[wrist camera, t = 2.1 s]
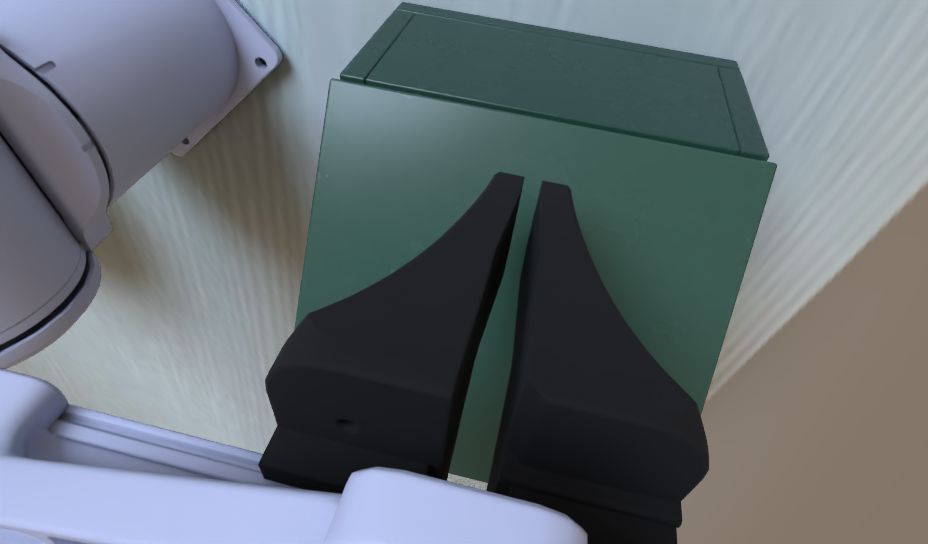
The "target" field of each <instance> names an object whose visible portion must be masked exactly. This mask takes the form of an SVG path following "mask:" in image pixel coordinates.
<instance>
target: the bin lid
mask: <svg viewBox="0 0 928 544" xmlns="http://www.w3.org/2000/svg"><path fill="white" fill-rule="evenodd" d="M776 168H777V165H776V164H775V163H771V162H766V161H761V160H756V159H750V158H745V157H740V156H735V155H730V154H724V153H719V152H714V151H709V150H704V149H698V148H693V147H688V146H683V145H678V144H672V143H667V142H662V141H657V140H651V139H646V138H641V137H636V136H631V135H625V134H620V133H615V132H610V131H605V130H599V129H594V128H589V127H584V126H579V125H573V124H568V123H563V122H558V121H552V120H547V119H542V118H537V117H532V116H526V115H521V114H516V113H511V112H506V111H500V110H495V109H490V108H485V107H480V106H474V105H469V104H464V103H459V102H454V101H448V100H443V99H438V98H433V97H427V96H422V95H417V94H412V93H407V92H401V91H396V90H391V89H386V88H381V87H375V86H370V85H365V84H360V83H355V82H349V81H344V80H339V79H334V78H333V79H331V80H330V84H329V91H328V98H327V105H326V112H325V119H324V126H323V133H322V140H321V147H320V154H319V161H318V168H317V175H316V182H315V189H314V196H313V203H312V210H311V217H310V224H309V231H308V238H307V245H306V253H305V260H304V267H303V274H302V281H301V288H300V295H299V302H298V309H297V316H296V323H295V329H296V328H297V326H298V325H299V324H300V323H301V321H302V320H303V319H304V318H305V317H306V315H307V314H308V313H310V312H313V311H316V310H318V309H321V308H323V307H326V306H328V305H331V304H333V303H335V302H338V301H340V300H343V299H345V298H347V297H349V296H351V295H353V294H355V293H357V292H359V291H361V290H363V289H365V288H367V287H368V286H370V285H372V284H374V283H376V282H378V281H380V280H382V279H383V278H385V277H387V276H388V275H390V274H391V273H393V272H395V271H396V270H398V269H399V268H401V267H402V266H403V265H405V264H406V263H408V262H409V261H411V260H412V259H414V258H415V257H416V256H418V255H419V254H420V253H422V252H423V251H424V250H426V249H427V248H428V247H429V246H430V245H432V244H433V243H434V242H435V241H436V240H438V239H439V238H440V237H441V236H442V235H443V234H444V233H445V232H446V231H447V230H448V229H449V228H450V227H451V226H453V225H454V224H455V223H456V222H457V221H458V220H459V219H460V218H461V217H462V216H463V214H464V213H465V212H466V211H467V210H468V209H469V208H470V207H471V206H472V204H473V203H474V202H475V201H476V200H477V199H478V197H479V196H480V195H481V194H482V192H483V191H484V190H485V188H486V187H487V186H488V184H489V183H490V181H491V180H492V178H493V176H494V175H495V174H497V173H498V172H504V173H509V174H514V175H518V176H523V177H525V178H524V183H523V188H522V192H521V197H520V202H519V207H518V212H517V216H516V221H515V226H514V231H513V236H512V240H511V245H510V249H509V254H508V258H507V263H506V267H505V271H504V276H503V278H502V281H501V284H500V287H499V290H498V293H497V296H496V299H495V302H494V305H493V308H492V310H491V313H490V316H489V319H488V322H487V325H486V328H485V331H484V334H483V336H482V339H481V342H480V345H479V348H478V352H477V355H476V359H475V362H474V366H473V371H472V375H471V379H470V383H469V388H468V392H467V396H466V400H465V405H464V409H463V413H462V417H461V422H460V426H459V430H458V434H457V439H456V443H455V447H454V452H453V456H452V460H451V465H450V469H449V473H450V474H454V475H458V476H462V477H466V478H470V479H474V480H478V481H482V482H486V483H488V481H489V476H490V471H491V466H492V461H493V456H494V451H495V446H496V441H497V436H498V431H499V426H500V421H501V416H502V411H503V406H504V401H505V396H506V391H507V386H508V381H509V376H510V370H511V364H512V356H513V347H514V336H515V326H516V315H517V304H518V293H519V283H520V276H521V271H522V266H523V261H524V257H525V252H526V247H527V242H528V238H529V234H530V230H531V226H532V221H533V217H534V213H535V209H536V205H537V201H538V196H539V192H540V188H541V184H542V180H543V181H548V182H553V183H558V184H563V185H568V186H569V188H570V189H571V192H572V199H573V204H574V208H575V212H576V216H577V219H578V223H579V226H580V229H581V232H582V235H583V238H584V240H585V243H586V246H587V249H588V251H589V254H590V256H591V258H592V261H593V263H594V265H595V267H596V270H597V272H598V274H599V276H600V278H601V280H602V282H603V284H604V286H605V288H606V290H607V291H608V293H609V295H610V297H611V298H612V300H613V302H614V304H615V305H616V307H617V308H618V310H619V312H620V313H621V315H622V316H623V318H624V319H625V321H626V322H627V324H628V325H629V327H630V328H631V329H632V331H633V332H634V333H635V335H636V336H637V337H638V339H639V340H640V341H641V343H642V344H643V345H644V347H645V348H646V349H647V351H648V352H649V353H650V354H651V355H652V356H653V358H654V359H655V360H656V361H657V362H658V363H659V365H660V366H661V367H662V368H663V369H664V370H665V371H666V372H667V373H668V374H669V375H670V376H671V377H672V378H673V379H674V380H675V381H676V382H677V383H678V384H679V385H680V386H681V387H682V388H683V389H684V390H685V391H686V392H687V393H688V394H689V395H690V396H691V397H692V398H693V399H694V400H695V401H696V403H697V405H698V409H699V412H700V416H701V413H702V410H703V406H704V403H705V400H706V397H707V393H708V390H709V387H710V384H711V380H712V377H713V374H714V370H715V367H716V364H717V361H718V357H719V354H720V351H721V348H722V344H723V341H724V338H725V335H726V331H727V328H728V325H729V321H730V318H731V315H732V312H733V308H734V305H735V302H736V299H737V295H738V292H739V289H740V285H741V282H742V279H743V276H744V272H745V269H746V266H747V263H748V259H749V256H750V253H751V250H752V246H753V243H754V240H755V236H756V233H757V230H758V227H759V223H760V220H761V217H762V214H763V210H764V207H765V204H766V200H767V197H768V194H769V191H770V187H771V184H772V181H773V178H774V174H775V171H776Z"/></svg>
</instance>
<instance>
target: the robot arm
mask: <svg viewBox="0 0 928 544" xmlns="http://www.w3.org/2000/svg"><path fill="white" fill-rule="evenodd" d="M260 58H262V59H264V60H265V62H266V64H267V66H266V65H264V64H262V63H261V61H260ZM281 61H282V54H281V51H280V50H279V48H278V47H277V46H276V45H275V44H274V42H273V41H272V40H271V39H270V38H269V37H268V36H267V35H266V34H265V33H264V32H263V30H262V29H261V28H260V27H259V26H258V25H257V24H256V23H255V22H254V21H253V20H252V19H251V17H250V16H249V15H248V14H247V13H246V12H245V11H244V10H243V9H242V8H241V7H240V5H239V4H238V3H237V2H236V1H235V0H0V544H677V533H676V527H677V528H678V527H680V526H681V523H682V511H681V501H682V500H683V499H684V497H686V496H687V494H689V493H690V491H692V490H693V489H694V488H695V487H696V486H697V484H699V482H700V481H701V480H702V479H703V478H704V476H705V475H706V473H707V472H708V470H709V454H708V445H707V439H706V435H705V431H704V427H703V423H702V420H701V416H700V412H699V409H698V405H697V403H696V401H695V400H694V399H693V398H692V397H691V396H690V395H689V394H688V393H687V392H686V391H685V390H684V389H683V388H682V387H681V386H680V385H679V384H678V383H677V382H676V381H675V380H674V379H673V378H672V377H671V376H670V375H669V374H668V373H667V372H666V371H665V370H664V369H663V368H662V367H661V366H660V365H659V363H658V362H657V361H656V360H655V359H654V358H653V356H652V355H651V354H650V353H649V352H648V351H647V349H646V348H645V347H644V345H643V344H642V343H641V341H640V340H639V339H638V337H637V336H636V335H635V333H634V332H633V331H632V329H631V328H630V327H629V325H628V324H627V322H626V321H625V319H624V318H623V316H622V315H621V313H620V312H619V310H618V308H617V307H616V305H615V304H614V302H613V300H612V298H611V297H610V295H609V293H608V291H607V290H606V288H605V286H604V284H603V282H602V280H601V278H600V276H599V274H598V272H597V270H596V267H595V265H594V263H593V261H592V258H591V256H590V254H589V251H588V249H587V246H586V243H585V240H584V238H583V235H582V232H581V229H580V226H579V223H578V219H577V216H576V212H575V208H574V204H573V199H572V192H571V189H570V188H569V186H568V185H563V184H558V183H553V182H548V181H543V180H542V184H541V188H540V192H539V196H538V201H537V205H536V209H535V213H534V217H533V221H532V226H531V230H530V234H529V238H528V242H527V247H526V252H525V257H524V261H523V266H522V271H521V276H520V283H519V293H518V304H517V315H516V326H515V336H514V347H513V356H512V364H511V370H510V376H509V381H508V386H507V391H506V396H505V401H504V406H503V411H502V416H501V421H500V426H499V431H498V436H497V441H496V446H495V451H494V456H493V461H492V466H491V471H490V476H489V481H488V486H487V491H485V490H481V489H477V488H473V487H469V486H465V485H461V484H457V483H453V482H449V481H447V478H448V473H449V469H450V465H451V460H452V456H453V452H454V447H455V443H456V439H457V434H458V430H459V426H460V422H461V417H462V413H463V409H464V405H465V400H466V396H467V392H468V388H469V383H470V379H471V375H472V371H473V366H474V362H475V359H476V355H477V352H478V348H479V345H480V342H481V339H482V336H483V334H484V331H485V328H486V325H487V322H488V319H489V316H490V313H491V310H492V308H493V305H494V302H495V299H496V296H497V293H498V290H499V287H500V284H501V281H502V278H503V276H504V271H505V267H506V263H507V258H508V254H509V249H510V245H511V240H512V236H513V231H514V226H515V221H516V216H517V212H518V207H519V202H520V197H521V192H522V188H523V183H524V178H525V177H523V176H518V175H514V174H509V173H504V172H498V173H497V174H495V175H494V176H493V178H492V180H491V181H490V183H489V184H488V186H487V187H486V188H485V190H484V191H483V192H482V194H481V195H480V196H479V197H478V199H477V200H476V201H475V202H474V203H473V204H472V206H471V207H470V208H469V209H468V210H467V211H466V212H465V213H464V214H463V216H462V217H461V218H460V219H459V220H458V221H457V222H456V223H455V224H454V225H453V226H451V227H450V228H449V229H448V230H447V231H446V232H445V233H444V234H443V235H442V236H441V237H440V238H439V239H438V240H436V241H435V242H434V243H433V244H432V245H430V246H429V247H428V248H427V249H426V250H424V251H423V252H422V253H420V254H419V255H418V256H416V257H415V258H414V259H412V260H411V261H409V262H408V263H406V264H405V265H403V266H402V267H401V268H399V269H398V270H396V271H395V272H393V273H391V274H390V275H388V276H387V277H385V278H383V279H382V280H380V281H378V282H376V283H374V284H372V285H370V286H368V287H367V288H365V289H363V290H361V291H359V292H357V293H355V294H353V295H351V296H349V297H347V298H345V299H343V300H340V301H338V302H335V303H333V304H331V305H328V306H326V307H323V308H321V309H318V310H316V311H313V312H310V313H308V314H307V315H306V317H305V318H304V319H303V320H302V321H301V323H300V324H299V325H298V326H297V328H296V329H295V330H294V332H293V333H292V334H291V336H290V337H289V338H288V340H287V341H286V343H285V344H284V346H283V347H282V349H281V351H280V353H279V355H278V356H277V358H276V360H275V362H274V364H273V365H272V367H271V369H270V371H269V373H268V375H267V377H266V379H265V384H266V391H267V394H268V397H269V400H270V403H271V406H272V409H273V412H274V415H275V418H276V421H277V425H278V426H277V428H276V430H275V432H274V434H273V436H272V438H271V440H270V442H269V444H268V446H267V447H266V449H265V451H264V453H263V454H260V453H257V452H253V451H249V450H245V449H241V448H237V447H233V446H229V445H226V444H222V443H218V442H214V441H210V440H206V439H202V438H198V437H194V436H191V435H187V434H183V433H179V432H175V431H171V430H167V429H163V428H159V427H156V426H152V425H148V424H144V423H140V422H136V421H132V420H128V419H125V418H121V417H117V416H113V415H109V414H105V413H101V412H97V411H93V410H90V409H86V408H82V407H78V406H74V405H70V404H68V401H67V399H66V398H65V396H64V395H63V393H62V392H61V391H60V390H59V389H58V388H56V387H55V386H54V385H52V384H51V383H49V382H47V381H45V380H42V379H40V378H37V377H33V376H29V375H25V374H21V373H17V372H14V371H10V370H6V368H9V367H11V366H14V365H16V364H18V363H20V362H22V361H24V360H26V359H28V358H30V357H32V356H33V355H35V354H37V353H38V352H40V351H42V350H43V349H45V348H46V347H48V346H49V345H50V344H52V343H53V342H55V341H56V340H57V339H58V338H60V337H61V336H62V335H63V334H64V333H65V332H66V331H67V330H68V329H70V328H71V327H72V325H73V324H74V323H75V322H76V321H77V320H78V319H79V317H80V316H81V315H82V314H83V313H84V312H85V311H86V309H87V308H88V306H89V305H90V303H91V302H92V300H93V299H94V297H95V295H96V293H97V291H98V288H99V286H100V281H101V276H102V275H101V266H100V263H99V261H98V259H97V257H96V255H95V254H94V253H93V251H92V250H93V249H94V248H95V247H96V246H97V245H98V244H99V243H100V242H101V241H102V240H103V239H104V238H105V237H106V236H107V235H109V234H110V233H111V232H112V231H113V226H112V225H111V223H110V221H109V219H108V216H107V211H106V209H107V208H108V207H109V206H110V205H112V204H113V203H114V202H115V201H116V200H117V199H118V198H119V197H120V196H122V195H123V194H124V193H125V192H126V191H127V190H128V189H129V188H130V187H132V186H133V185H134V184H135V183H136V182H137V181H138V180H139V179H140V178H142V177H143V176H144V175H145V174H146V173H147V172H148V171H149V170H150V169H152V168H153V167H154V166H155V165H156V164H157V163H158V162H159V161H160V160H162V159H163V158H164V157H165V156H166V155H167V154H168V153H169V152H170V153H172V154H173V155H175V156H178V157H182V156H184V155H185V154H186V153H187V152H188V151H189V150H190V149H191V148H192V147H193V146H194V145H195V144H197V143H198V142H199V141H200V140H201V139H202V138H203V137H204V136H205V135H206V134H207V133H208V132H209V131H210V130H211V129H212V128H213V127H214V126H215V125H216V124H217V123H218V122H220V121H221V120H222V119H223V118H224V117H225V116H226V115H227V114H228V113H229V112H230V111H231V110H232V109H233V108H234V107H235V106H236V105H237V104H238V103H239V102H240V101H241V100H243V99H244V98H245V97H246V96H247V95H248V94H249V93H250V92H251V91H252V90H253V89H254V88H255V87H256V86H257V85H258V84H259V83H260V82H261V81H262V80H263V79H264V78H266V77H267V76H268V75H269V74H270V73H271V72H272V71H273V70H274V69H275V68H276V67H277V66H278V65H279V64H280V63H281ZM186 137H187V138H188V139H187V138H186Z"/></svg>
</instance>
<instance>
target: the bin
mask: <svg viewBox="0 0 928 544" xmlns="http://www.w3.org/2000/svg"><path fill="white" fill-rule="evenodd" d="M340 80H344V81H349V82H355V83H360V84H365V85H370V86H375V87H381V88H386V89H391V90H396V91H401V92H407V93H412V94H417V95H422V96H427V97H433V98H438V99H443V100H448V101H454V102H459V103H464V104H469V105H474V106H480V107H485V108H490V109H495V110H500V111H506V112H511V113H516V114H521V115H526V116H532V117H537V118H542V119H547V120H552V121H558V122H563V123H568V124H573V125H579V126H584V127H589V128H594V129H599V130H605V131H610V132H615V133H620V134H625V135H631V136H636V137H641V138H646V139H651V140H657V141H662V142H667V143H672V144H678V145H683V146H688V147H693V148H698V149H704V150H709V151H714V152H719V153H724V154H730V155H735V156H740V157H745V158H750V159H756V160H761V161H767V160H768V158H769V153H768V150H767V147H766V145H765V142H764V139H763V136H762V133H761V130H760V127H759V124H758V121H757V118H756V115H755V113H754V110H753V107H752V104H751V101H750V98H749V95H748V92H747V89H746V86H745V83H744V80H743V78H742V75H741V72H740V71H739V67H738V64H737V62H736V61H732V60H726V59H720V58H715V57H709V56H703V55H698V54H692V53H687V52H681V51H675V50H670V49H664V48H658V47H653V46H647V45H641V44H636V43H630V42H624V41H619V40H613V39H608V38H602V37H596V36H591V35H585V34H579V33H574V32H568V31H562V30H557V29H551V28H545V27H540V26H534V25H529V24H523V23H517V22H512V21H506V20H500V19H495V18H489V17H483V16H478V15H472V14H467V13H461V12H455V11H450V10H444V9H438V8H433V7H427V6H421V5H416V4H410V3H404V2H402V3H401V4H400V5H399V6H398V7H397V9H396V10H395V11H394V12H393V13H392V14H391V15H390V16H389V18H388V19H387V20H386V21H385V22H384V23H383V25H382V26H381V27H380V28H379V29H378V30H377V32H376V33H375V34H374V35H373V36H372V37H371V39H370V40H369V41H368V42H367V43H366V44H365V46H364V47H363V48H362V49H361V50H360V51H359V53H358V54H357V55H356V56H355V57H354V58H353V59H352V61H351V62H350V63H349V64H348V65H347V66H346V68H345V69H344V70H343V71H342V72H341V73H340Z"/></svg>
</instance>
